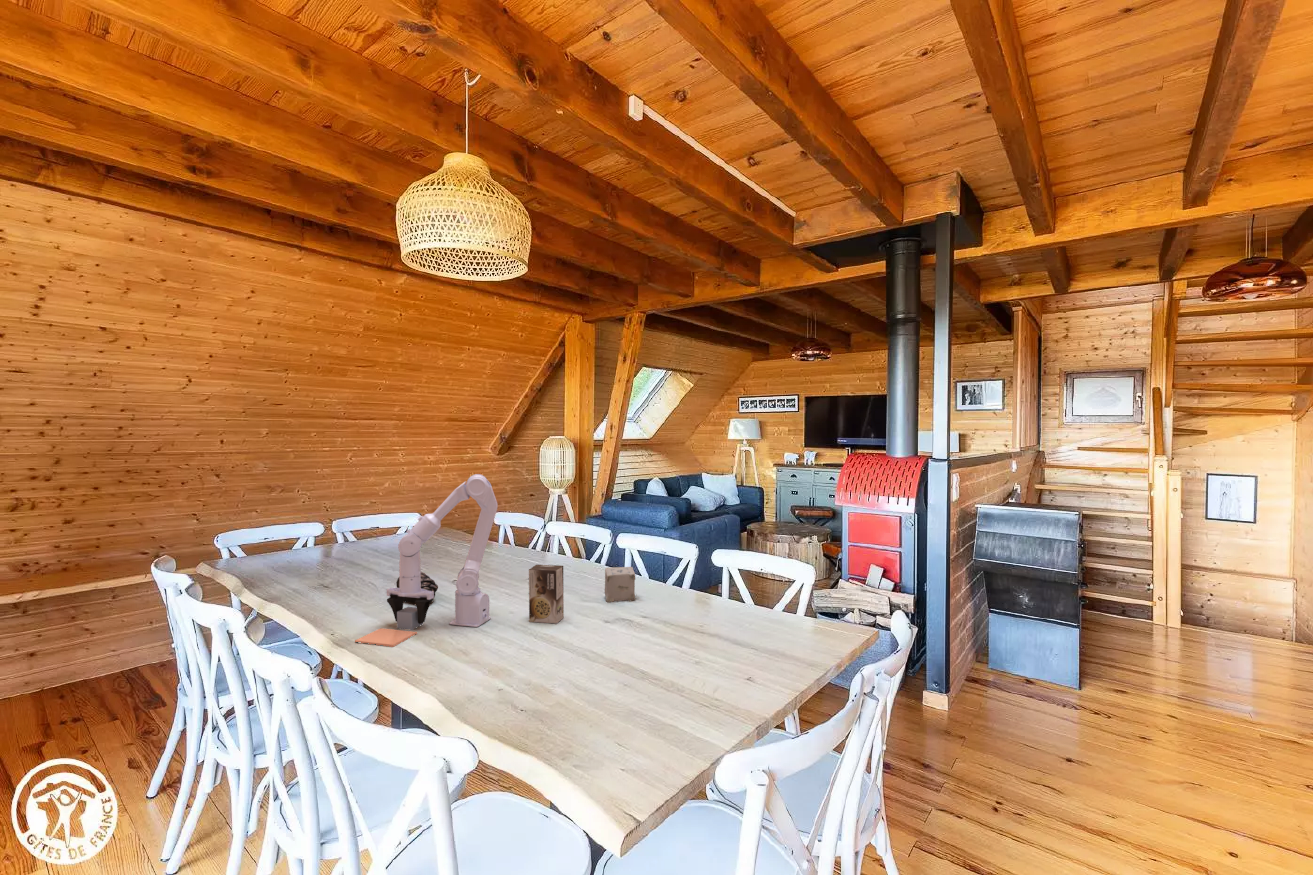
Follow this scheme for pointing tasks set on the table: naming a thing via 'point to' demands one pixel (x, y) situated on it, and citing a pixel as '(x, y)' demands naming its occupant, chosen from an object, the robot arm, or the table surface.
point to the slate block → (408, 618)
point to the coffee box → (546, 594)
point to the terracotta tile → (386, 637)
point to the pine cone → (422, 587)
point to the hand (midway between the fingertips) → (410, 621)
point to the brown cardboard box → (619, 584)
